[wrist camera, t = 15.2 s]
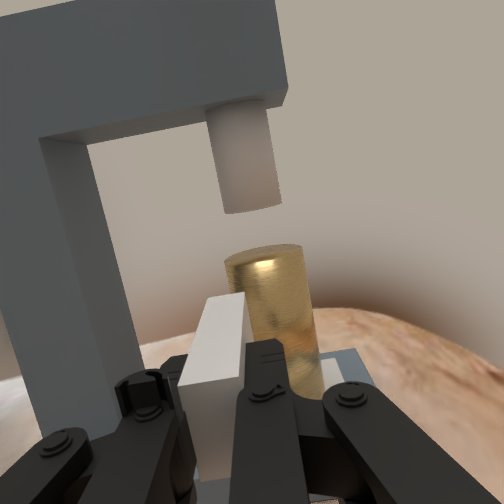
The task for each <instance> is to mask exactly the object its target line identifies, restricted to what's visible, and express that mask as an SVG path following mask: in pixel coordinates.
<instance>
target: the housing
mask: <svg viewBox="0 0 504 504" xmlns="http://www.w3.org/2000/svg"><path fill="white" fill-rule="evenodd" d="M224 263H225V268H226V273H227V277H228V282H229V287H230V292H231V294H234V293H240V292H245V297H246V302H247V307H248V312H249V317H250V323H251V328H252V333H253V338H254V342H256V341H262V340H268V339H274V338H276V339H277V340H278V341H280V342H281V343H282V344H283V347H284V353H285V358H286V364H287V370H288V375H289V381H290V387H291V389H292V390H293V392H294V393H296V394H297V395H299V396H301V397H304V398H307V399H315V400H322V397H323V394H324V392H325V391H326V390H325V384H324V378H323V372H322V366H321V360H320V354H319V348H318V342H317V335H316V329H315V323H314V317H313V311H312V305H311V299H310V293H309V287H308V281H307V275H306V269H305V263H304V256H303V250H302V247H301V246H299V245H294V244H281V245H271V246H265V247H259V248H254V249H250V250H246V251H243V252H240V253H237V254H235V255H232V256H230V257H228V258H227V259H226V260H225V262H224Z"/></svg>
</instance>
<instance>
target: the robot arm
mask: <svg viewBox="0 0 504 504" xmlns="http://www.w3.org/2000/svg"><path fill="white" fill-rule="evenodd" d="M114 389H115V393H116V396H117V400H118V403H119V407H120V410H121V414H122V419H121V421H120V423H119V425H118V427H117V429H116V430H115V432H113V433H110V434H108V435H105V436H102V437H99V438H97V439H94V440H91V441H89V438H88V434H87V432H86V431H85V430H84V429H83V428H78V427H72V428H64V429H61V430H60V431H59V430H58V431H55V432H53V433H51V434H50V435H49V436H47V437H45V438H43V439H42V440H40V441H39V442H38V443H37V444H35V445H34V446H33V447H32V448H31V449H30V450H29V451H28V452H26V453H25V454H24V455H23V456H22V457H21V458H20V459H19V460H18V461H17V462H16V463H15V464H14V465H13V466H11V467H10V468H9V469H8V470H7V471H6V472H5V473H4V474H3V475H2V476H1V477H0V504H196V503H197V491H196V487H195V483H194V479H193V478H194V473H195V468H196V466H197V470H198V474H199V478H200V482H204V481H210V480H217V479H224V478H230V477H231V479H230V492H229V504H311V503H310V497H309V494H317V495H324V496H331V497H337V498H338V501H339V504H501V503H500V502H499V501H498V500H497V499H496V498H495V497H494V496H493V495H492V494H491V493H490V492H488V491H487V490H486V489H485V488H484V487H483V486H482V485H481V484H480V483H479V482H478V481H477V480H476V479H474V478H473V477H472V476H471V475H470V474H469V473H468V472H467V471H466V470H465V469H464V468H463V467H462V466H460V465H459V464H458V463H457V462H456V461H455V460H454V459H453V458H452V457H451V456H450V455H449V454H448V453H446V452H445V451H444V450H443V449H442V448H441V447H440V446H439V445H438V444H437V443H436V442H435V441H434V440H432V439H431V438H430V437H429V436H428V435H427V434H426V433H425V432H424V431H423V430H422V429H421V428H420V427H418V426H417V425H416V424H415V423H414V422H413V421H412V420H411V419H410V418H409V417H408V416H407V415H406V414H404V413H403V412H402V411H401V410H400V409H399V408H398V407H397V406H396V405H395V404H394V403H393V402H392V401H390V400H389V399H388V398H387V397H386V396H385V395H384V394H383V393H382V392H381V391H380V390H379V389H377V388H376V387H374V386H372V385H371V384H367V383H363V382H358V381H347V382H343V383H338V384H336V385H334V386H331V387H330V388H328V389H327V390H326V391H325V392H324V394H323V397H322V400H315V399H307V398H304V397H301V396H299V395H297V394H296V393H294V392H293V390H292V389H291V387H290V381H289V375H288V370H287V364H286V358H285V353H284V347H283V344H282V343H281V342H280V341H278V340H277V339H276V338H274V339H268V340H262V341H256V342H254V338H253V333H252V328H251V323H250V317H249V312H248V307H247V302H246V297H245V292H240V293H234V294H228V295H222V296H216V297H210V298H208V300H207V302H206V305H205V308H204V311H203V314H202V317H201V320H200V322H199V325H198V328H197V331H196V334H195V337H194V340H193V343H192V345H191V348H190V351H189V354H185V355H179V356H173V357H170V358H169V359H168V360H167V361H166V362H165V363H164V364H162V365H161V367H160V369H146V370H142V371H139V372H136V373H134V374H131V375H129V376H127V377H125V378H124V379H122V380H121V381H119V382H118V383H117V385H116V386H115V387H114Z"/></svg>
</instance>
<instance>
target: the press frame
mask: <svg viewBox="0 0 504 504" xmlns="http://www.w3.org/2000/svg"><path fill="white" fill-rule="evenodd" d="M287 90H288V82H287V76H286V69H285V63H284V56H283V50H282V44H281V38H280V32H279V25H278V18H277V12H276V6H275V0H75V1H70V2H65V3H61V4H56V5H52V6H47V7H43V8H38V9H34V10H29V11H24V12H20V13H15V14H11V15H7V16H2V17H0V310H1V313H2V316H3V319H4V322H5V325H6V328H7V331H8V334H9V337H10V340H11V343H12V346H13V349H14V352H15V355H16V358H17V361H18V364H19V367H20V370H21V373H22V376H23V379H24V382H25V385H26V388H27V392H28V395H29V398H30V401H31V404H32V407H33V410H34V413H35V416H36V419H37V422H38V425H39V428H40V431H41V434H42V437H43V438H45V437H47V436H49V435H50V434H51V433H53V432H55V431H58V430H59V431H60V430H61V429H64V428H72V427H78V428H83V429H84V430H85V431H86V432H87V434H88V438H89V441H91V440H94V439H97V438H99V437H102V436H105V435H108V434H110V433H113V432H115V430H116V429H117V427H118V425H119V423H120V421H121V419H122V414H121V410H120V407H119V403H118V400H117V396H116V393H115V389H114V387H115V386H116V385H117V383H118V382H119V381H121V380H122V379H124V378H125V377H127V376H129V375H131V374H134V373H136V372H139V371H142V370H145V367H144V363H143V360H142V356H141V352H140V348H139V344H138V340H137V337H136V333H135V329H134V325H133V321H132V318H131V314H130V310H129V307H128V302H127V298H126V295H125V291H124V287H123V283H122V279H121V276H120V272H119V268H118V264H117V260H116V257H115V253H114V249H113V245H112V241H111V237H110V234H109V230H108V226H107V222H106V218H105V214H104V211H103V207H102V203H101V199H100V196H99V192H98V188H97V184H96V180H95V177H94V172H93V169H92V165H91V161H90V157H89V154H88V149H87V146H86V145H89V144H94V143H99V142H104V141H109V140H114V139H119V138H123V137H129V136H134V135H139V134H144V133H149V132H153V131H159V130H164V129H169V128H174V127H179V126H184V125H189V124H194V123H199V122H204V121H206V122H207V127H208V132H209V137H210V142H211V147H212V152H213V157H214V162H215V166H216V172H217V177H218V182H219V187H220V192H221V197H222V201H223V207H224V211H225V213H226V214H234V213H242V212H248V211H254V210H259V209H263V208H268V207H271V206H275V205H278V204H280V203H282V201H281V195H280V189H279V183H278V177H277V171H276V166H275V160H274V154H273V148H272V142H271V136H270V131H269V125H268V119H267V113H266V109H270V108H275V107H279V106H282V104H283V101H284V99H285V96H286V93H287ZM320 360H321V366H322V372H323V378H324V384H325V390H327V389H328V388H330V387H331V386H334V385H336V384H338V383H343V382H347V381H358V382H363V383H367V384H371V385H372V386H374V387H376V386H375V384H374V382H373V380H372V378H371V377H370V375H369V373H368V371H367V369H366V367H365V365H364V364H363V362H362V360H361V358H360V356H359V354H358V352H357V351H356V349H355V348H353V349H347V350H340V351H334V352H328V353H322V354H320ZM193 479H194V483H195V487H196V491H197V503H196V504H229V492H230V479H231V477H230V478H224V479H217V480H210V481H204V482H200V478H199V474H198V470H197V466H196V468H195V473H194V478H193ZM309 497H310V502H315V501H322V500H329V499H336V498H337V497H331V496H324V495H317V494H309Z"/></svg>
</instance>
